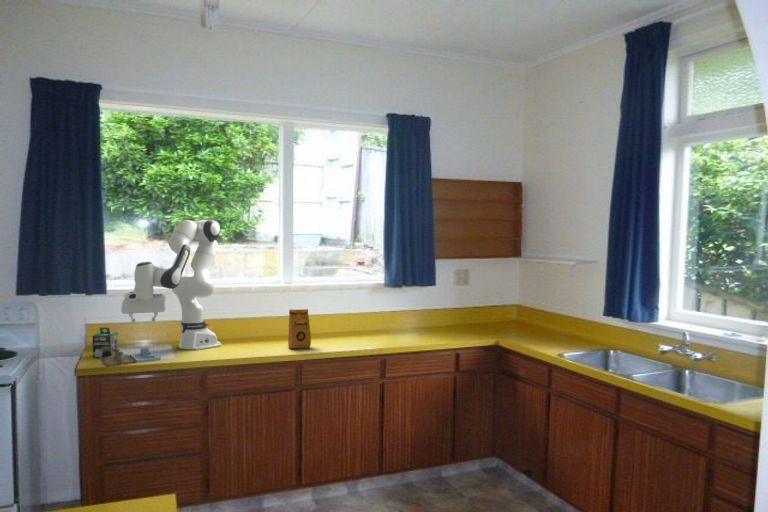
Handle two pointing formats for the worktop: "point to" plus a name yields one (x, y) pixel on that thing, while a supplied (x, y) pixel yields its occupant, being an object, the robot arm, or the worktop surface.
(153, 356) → the panel
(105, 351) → the chalk box
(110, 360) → the board
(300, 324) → the coffee package
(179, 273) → the robot arm
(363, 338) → the worktop surface
